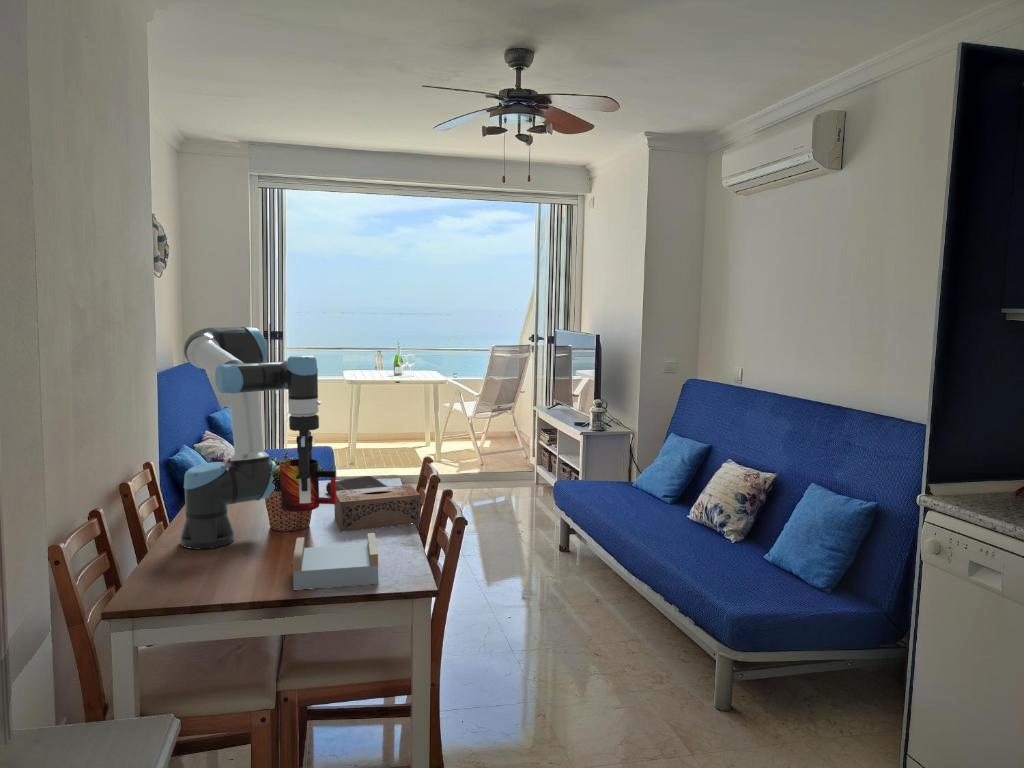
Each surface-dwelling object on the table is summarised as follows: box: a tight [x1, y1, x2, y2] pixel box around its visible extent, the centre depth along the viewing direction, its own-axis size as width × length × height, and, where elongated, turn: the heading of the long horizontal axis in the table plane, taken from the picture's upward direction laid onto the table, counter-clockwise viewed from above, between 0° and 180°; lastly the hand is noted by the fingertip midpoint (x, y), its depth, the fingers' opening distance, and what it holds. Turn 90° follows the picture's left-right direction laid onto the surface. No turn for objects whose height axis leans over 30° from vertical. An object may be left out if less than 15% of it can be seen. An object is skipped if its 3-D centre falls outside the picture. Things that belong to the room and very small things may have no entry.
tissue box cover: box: [333, 484, 422, 533], centre depth 245 cm, size 26×14×10 cm, turn 111°
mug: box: [279, 458, 337, 513], centre depth 196 cm, size 10×14×12 cm
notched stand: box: [292, 532, 379, 590], centre depth 197 cm, size 21×18×8 cm
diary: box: [325, 475, 388, 495], centre depth 276 cm, size 19×25×5 cm
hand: (306, 498), depth 196 cm, fingers closed on mug, 10 cm apart
